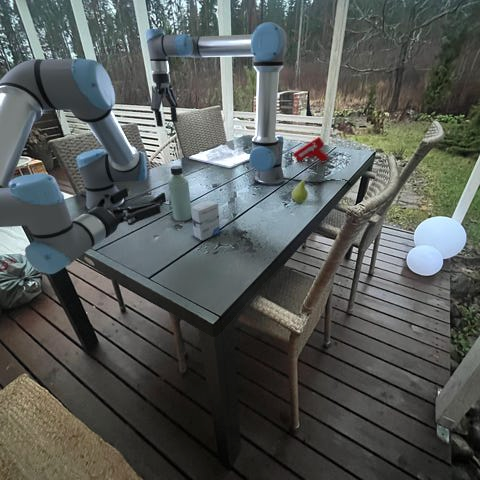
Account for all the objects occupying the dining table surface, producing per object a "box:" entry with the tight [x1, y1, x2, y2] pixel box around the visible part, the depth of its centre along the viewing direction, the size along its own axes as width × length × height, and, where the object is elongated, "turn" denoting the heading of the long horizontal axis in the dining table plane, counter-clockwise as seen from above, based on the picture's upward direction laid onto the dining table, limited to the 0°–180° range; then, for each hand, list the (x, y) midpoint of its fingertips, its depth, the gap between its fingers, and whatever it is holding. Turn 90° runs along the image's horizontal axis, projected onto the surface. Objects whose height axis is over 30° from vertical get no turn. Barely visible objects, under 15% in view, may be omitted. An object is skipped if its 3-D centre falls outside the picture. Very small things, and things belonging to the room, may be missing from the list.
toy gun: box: [293, 136, 329, 164], centre depth 170 cm, size 18×4×15 cm
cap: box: [170, 165, 183, 176], centre depth 100 cm, size 4×4×2 cm
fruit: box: [291, 174, 311, 204], centre depth 118 cm, size 7×8×12 cm
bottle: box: [167, 174, 192, 222], centre depth 105 cm, size 8×8×20 cm
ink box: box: [191, 199, 221, 241], centre depth 95 cm, size 8×5×12 cm, turn 134°
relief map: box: [188, 143, 250, 169], centre depth 179 cm, size 27×35×5 cm
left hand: (145, 194), depth 84 cm, fingers open, 13 cm apart
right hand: (167, 124), depth 132 cm, fingers open, 13 cm apart
